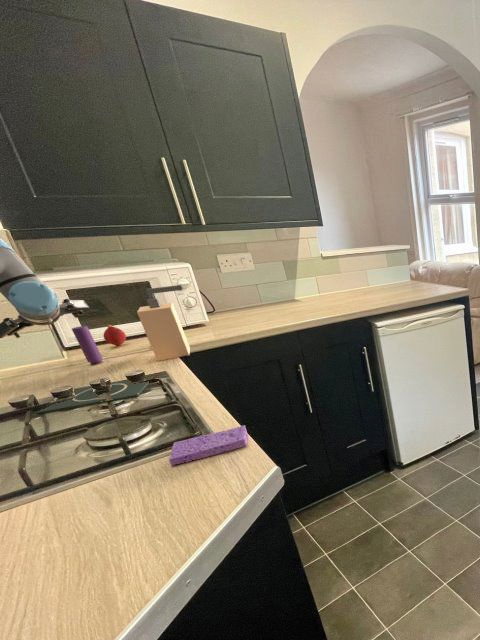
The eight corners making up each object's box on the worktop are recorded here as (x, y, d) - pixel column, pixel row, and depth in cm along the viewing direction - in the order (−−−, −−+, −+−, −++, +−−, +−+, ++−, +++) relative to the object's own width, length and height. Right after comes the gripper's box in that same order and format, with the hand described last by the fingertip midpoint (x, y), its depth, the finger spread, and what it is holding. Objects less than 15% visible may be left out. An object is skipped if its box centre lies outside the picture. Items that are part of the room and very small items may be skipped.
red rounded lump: (125, 342, 156) (116, 321, 153) (132, 344, 153) (122, 323, 150) (106, 347, 152) (96, 326, 148) (112, 349, 149) (102, 327, 146)
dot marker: (87, 366, 134) (69, 329, 129) (92, 362, 137) (74, 327, 132) (101, 363, 135) (84, 328, 130) (105, 360, 138) (89, 325, 133)
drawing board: (37, 414, 102) (35, 412, 102) (66, 391, 114) (65, 389, 114) (138, 396, 109) (137, 394, 109) (155, 377, 122) (154, 374, 122)
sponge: (247, 447, 83) (244, 439, 83) (170, 467, 78) (166, 459, 77) (248, 432, 89) (245, 424, 88) (176, 450, 84) (172, 442, 83)
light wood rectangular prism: (157, 361, 135) (128, 293, 126) (159, 354, 141) (132, 289, 132) (204, 352, 141) (180, 286, 132) (204, 346, 148) (181, 283, 139)
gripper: (-15, 343, 102) (-1, 354, 117) (106, 303, 118) (104, 316, 133) (-41, 316, 100) (-24, 330, 115) (86, 278, 116) (87, 295, 131)
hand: (45, 323), depth 124 cm, fingers open, 13 cm apart
